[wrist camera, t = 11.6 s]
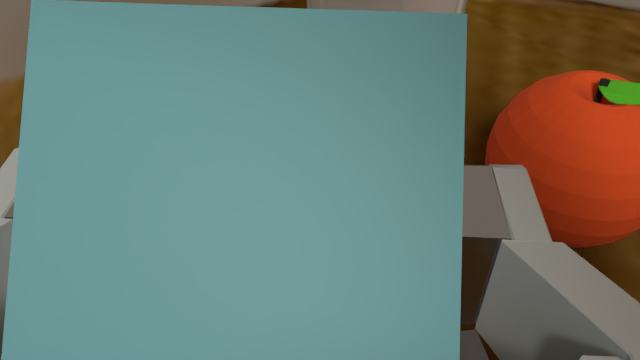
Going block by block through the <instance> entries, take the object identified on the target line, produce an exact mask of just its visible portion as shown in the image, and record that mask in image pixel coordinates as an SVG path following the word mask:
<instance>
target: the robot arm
mask: <svg viewBox="0 0 640 360" xmlns="http://www.w3.org/2000/svg"><path fill="white" fill-rule="evenodd" d="M18 154H19V147H18V148H16V149H14V150H13V152H12V153H11V154H10V156H9V157H8V159H7V160H6V161H5V163H4V164H3V165H2V167H1V168H0V355H1V354H2V344H3V332H4V320H5V308H6V296H7V285H8V273H9V261H10V249H11V237H12V225H13V213H14V201H15V189H16V178H17V166H18ZM460 324H462V325H476V326H475V329H476V330H477V331H478V333H479V334H480V335H481V337H482V338H483V339H484V340H485V342H486V343H487V344H488V345H489V347H490V348H491V349H492V351H493V352H494V353H495V354H496V356H497V357H498V358H499V360H640V303H639V302H638V301H636V300H635V299H634V298H633V297H631V296H630V295H629V294H628V293H626V292H625V291H624V290H622V289H621V288H620V287H619V286H617V285H616V284H615V283H614V282H612V281H611V280H610V279H609V278H607V277H606V276H605V275H604V274H602V273H601V272H600V271H598V270H597V269H596V268H595V267H593V266H592V265H591V264H590V263H588V262H587V261H586V260H585V259H583V258H582V257H581V256H580V255H578V254H577V253H576V252H574V251H573V250H572V249H571V248H569V247H568V246H567V245H566V244H564V243H563V242H553V241H552V239H551V236H550V233H549V230H548V227H547V225H546V222H545V219H544V216H543V213H542V211H541V208H540V205H539V202H538V199H537V197H536V194H535V191H534V188H533V185H532V183H531V180H530V177H529V174H528V171H527V169H526V168H525V167H524V166H523V165H502V164H489V165H465V164H464V179H463V225H462V270H461V316H460Z"/></svg>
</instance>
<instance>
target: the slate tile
mask: <svg viewBox="0 0 640 360" xmlns="http://www.w3.org/2000/svg"><path fill="white" fill-rule="evenodd" d="M460 360H489V358H488V356H487V353H486V351H485V349H484V346H483V344H482V342H481V339H480V337H479V335H478V332H477V330H476V329H474V330H466V331H460Z"/></svg>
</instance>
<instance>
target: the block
mask: <svg viewBox="0 0 640 360" xmlns="http://www.w3.org/2000/svg"><path fill="white" fill-rule="evenodd" d="M466 43H467V14H458V13H427V12H396V11H365V10H334V9H304V8H273V7H242V6H210V5H179V4H149V3H147V4H146V3H117V2H88V1H56V0H31V11H30V24H29V35H28V47H27V59H26V71H25V83H24V94H23V106H22V118H21V130H20V142H19V154H18V166H17V178H16V189H15V201H14V213H13V225H12V237H11V249H10V261H9V273H8V285H7V296H6V308H5V320H4V332H3V344H2V356H1V360H460V316H461V270H462V225H463V179H464V134H465V88H466Z"/></svg>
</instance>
